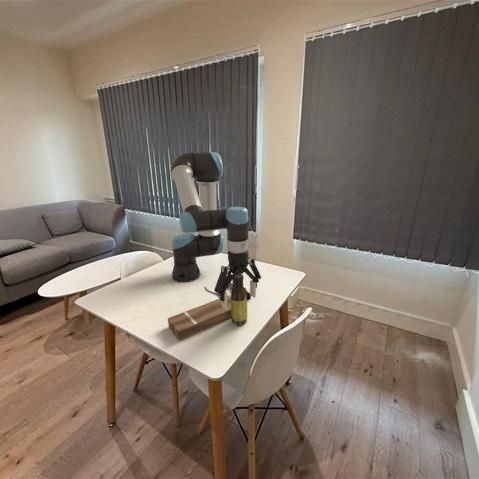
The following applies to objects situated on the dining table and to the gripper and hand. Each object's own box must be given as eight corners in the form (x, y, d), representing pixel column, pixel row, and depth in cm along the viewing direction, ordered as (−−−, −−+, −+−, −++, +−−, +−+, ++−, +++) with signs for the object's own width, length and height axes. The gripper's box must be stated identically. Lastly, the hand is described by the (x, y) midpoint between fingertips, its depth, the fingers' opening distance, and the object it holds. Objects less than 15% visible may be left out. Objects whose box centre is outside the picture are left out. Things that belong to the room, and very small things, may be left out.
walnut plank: (168, 327, 101) (167, 318, 100) (228, 303, 117) (228, 295, 116) (179, 341, 94) (178, 331, 92) (242, 313, 109) (241, 304, 108)
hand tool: (251, 300, 119) (251, 291, 118) (243, 302, 118) (243, 292, 117) (238, 282, 137) (238, 274, 135) (231, 283, 135) (230, 275, 134)
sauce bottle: (250, 323, 103) (249, 277, 97) (235, 327, 100) (234, 281, 94) (242, 314, 108) (242, 270, 102) (228, 319, 106) (227, 274, 100)
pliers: (218, 281, 137) (243, 296, 122) (218, 282, 137) (243, 297, 122) (202, 287, 131) (226, 303, 116) (202, 288, 131) (226, 305, 116)
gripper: (213, 261, 85) (216, 317, 91) (270, 245, 99) (269, 295, 105) (202, 255, 91) (206, 308, 97) (257, 241, 105) (257, 288, 111)
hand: (239, 301), depth 101 cm, fingers open, 13 cm apart
